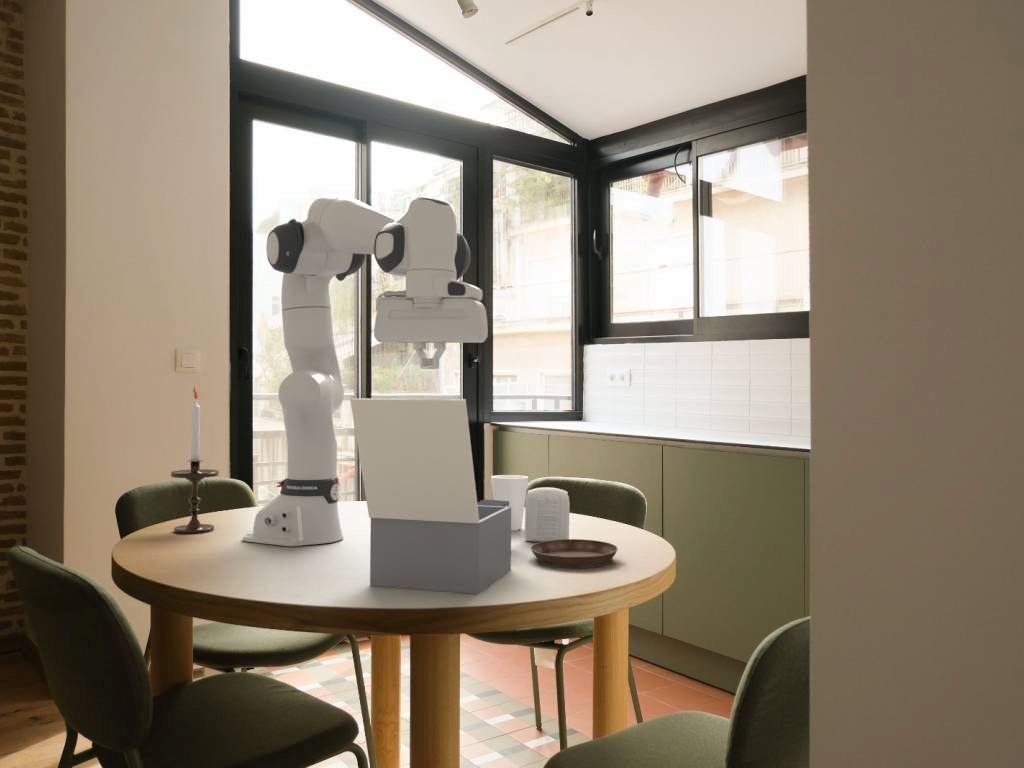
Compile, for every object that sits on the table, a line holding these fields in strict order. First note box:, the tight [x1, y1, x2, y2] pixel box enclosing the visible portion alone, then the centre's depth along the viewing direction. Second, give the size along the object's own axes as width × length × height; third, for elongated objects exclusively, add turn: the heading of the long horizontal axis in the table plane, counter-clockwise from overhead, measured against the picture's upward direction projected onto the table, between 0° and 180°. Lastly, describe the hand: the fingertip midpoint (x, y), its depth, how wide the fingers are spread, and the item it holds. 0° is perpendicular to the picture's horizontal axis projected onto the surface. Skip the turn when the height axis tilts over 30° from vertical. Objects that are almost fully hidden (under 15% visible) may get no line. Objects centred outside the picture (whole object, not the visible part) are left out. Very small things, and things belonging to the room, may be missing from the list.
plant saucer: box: [530, 538, 619, 569], centre depth 161 cm, size 18×18×3 cm
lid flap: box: [349, 397, 479, 523], centre depth 132 cm, size 20×22×1 cm
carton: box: [369, 505, 512, 595], centre depth 145 cm, size 20×20×12 cm
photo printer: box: [524, 486, 571, 543], centre depth 182 cm, size 10×4×12 cm, turn 86°
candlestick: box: [170, 387, 220, 535], centre depth 193 cm, size 11×11×35 cm
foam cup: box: [490, 474, 529, 531], centre depth 199 cm, size 10×9×13 cm
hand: (429, 368), depth 138 cm, fingers closed
